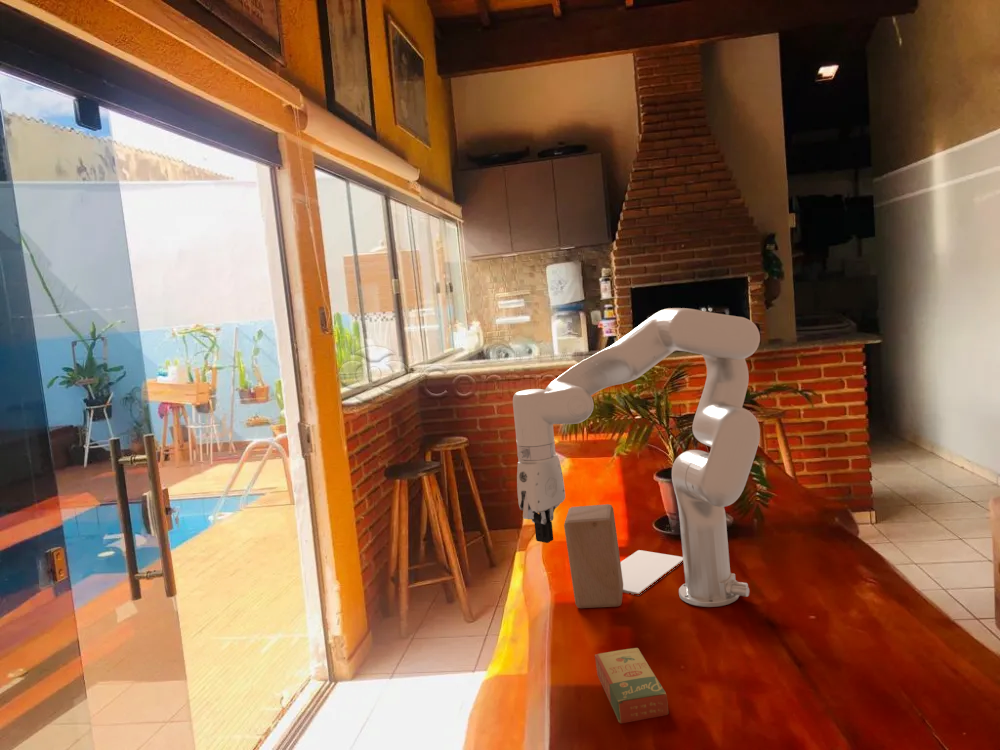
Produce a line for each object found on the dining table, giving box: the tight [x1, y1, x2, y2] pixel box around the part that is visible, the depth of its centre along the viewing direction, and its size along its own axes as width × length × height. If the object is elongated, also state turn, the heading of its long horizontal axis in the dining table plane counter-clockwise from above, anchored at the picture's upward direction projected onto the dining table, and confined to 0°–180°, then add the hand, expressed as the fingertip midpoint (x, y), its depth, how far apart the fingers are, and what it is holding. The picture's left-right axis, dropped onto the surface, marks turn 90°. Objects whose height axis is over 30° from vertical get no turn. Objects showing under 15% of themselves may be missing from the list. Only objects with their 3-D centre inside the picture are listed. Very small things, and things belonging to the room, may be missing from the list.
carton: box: [594, 647, 669, 724], centre depth 129 cm, size 8×16×4 cm, turn 6°
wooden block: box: [563, 504, 624, 609], centre depth 165 cm, size 10×10×20 cm
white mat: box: [620, 549, 683, 595], centre depth 179 cm, size 13×22×1 cm, turn 139°
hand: (544, 540), depth 153 cm, fingers closed
